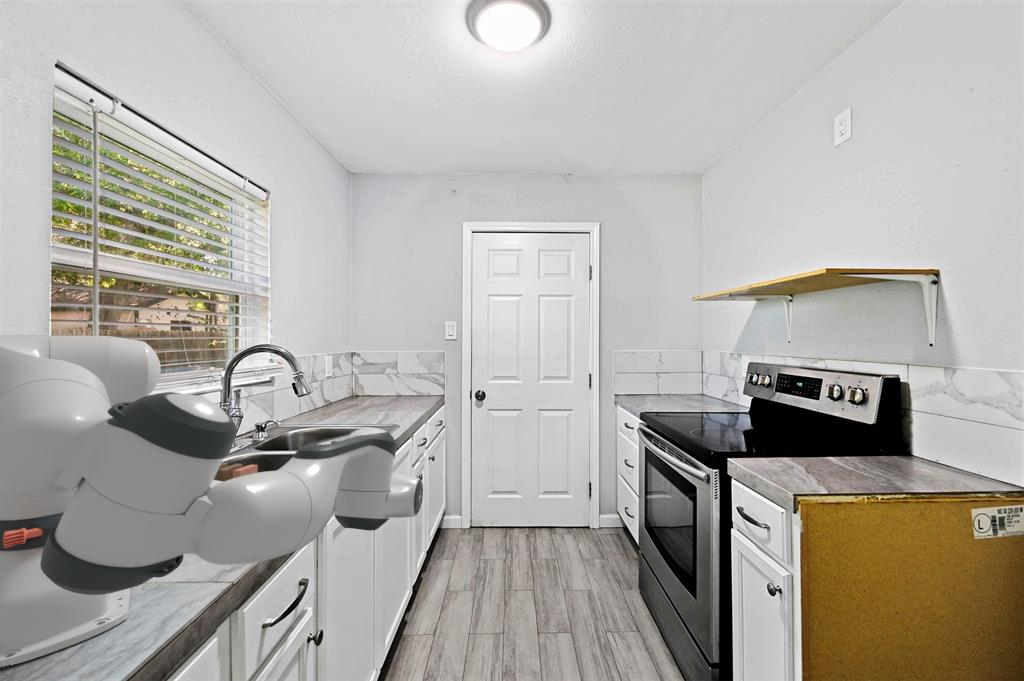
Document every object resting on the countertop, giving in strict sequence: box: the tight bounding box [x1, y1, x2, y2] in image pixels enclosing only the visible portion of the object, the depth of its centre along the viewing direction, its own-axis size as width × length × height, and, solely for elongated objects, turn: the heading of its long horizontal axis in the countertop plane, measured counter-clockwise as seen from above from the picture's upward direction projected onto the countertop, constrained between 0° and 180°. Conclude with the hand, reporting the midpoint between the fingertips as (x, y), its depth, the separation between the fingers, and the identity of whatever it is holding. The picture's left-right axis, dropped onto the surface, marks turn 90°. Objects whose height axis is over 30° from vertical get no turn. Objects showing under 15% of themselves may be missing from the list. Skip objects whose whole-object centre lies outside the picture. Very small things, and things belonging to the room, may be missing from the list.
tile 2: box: [218, 463, 244, 482], centre depth 102 cm, size 2×5×10 cm, turn 167°
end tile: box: [233, 464, 259, 478], centre depth 101 cm, size 2×5×10 cm, turn 168°
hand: (292, 486), depth 98 cm, fingers closed
